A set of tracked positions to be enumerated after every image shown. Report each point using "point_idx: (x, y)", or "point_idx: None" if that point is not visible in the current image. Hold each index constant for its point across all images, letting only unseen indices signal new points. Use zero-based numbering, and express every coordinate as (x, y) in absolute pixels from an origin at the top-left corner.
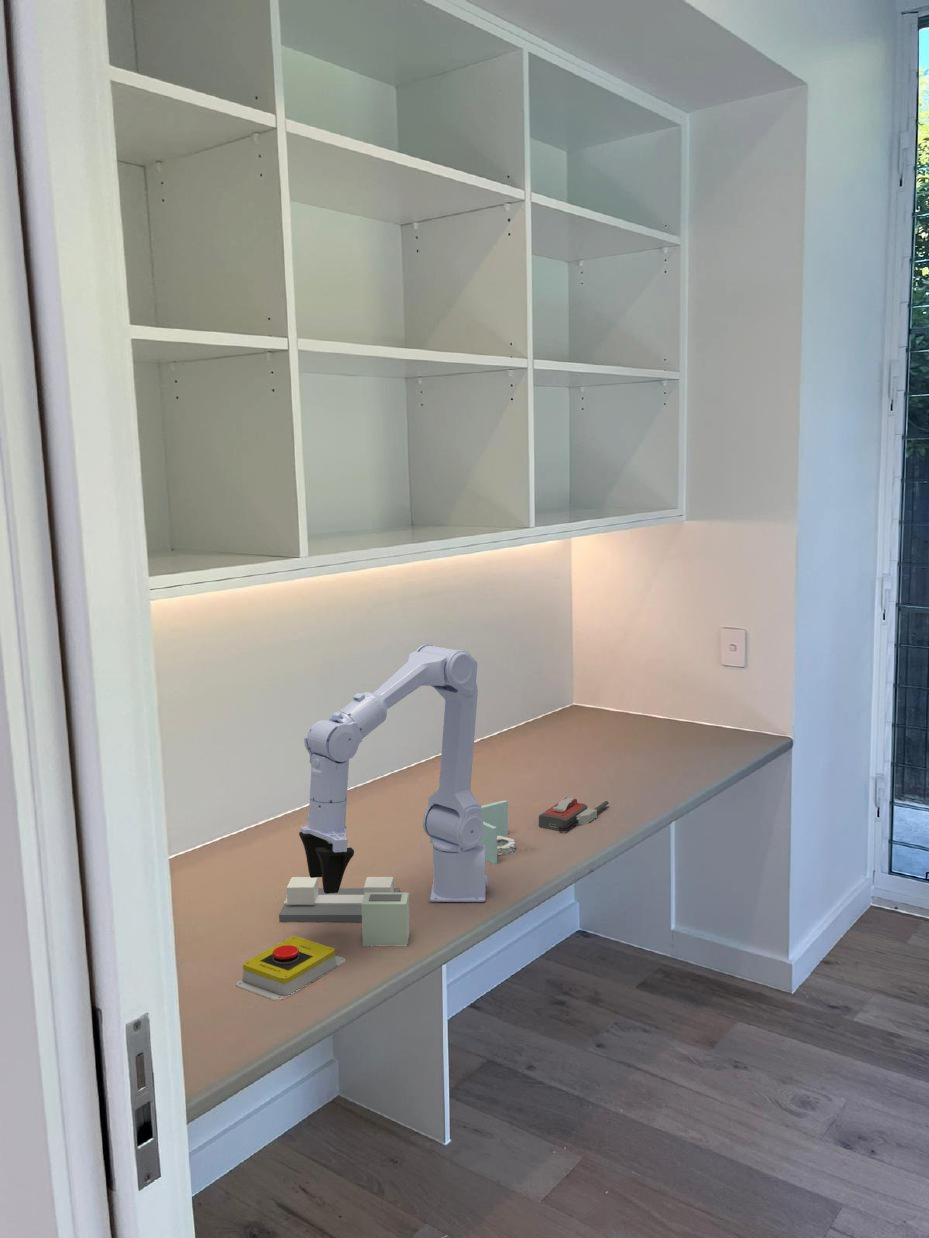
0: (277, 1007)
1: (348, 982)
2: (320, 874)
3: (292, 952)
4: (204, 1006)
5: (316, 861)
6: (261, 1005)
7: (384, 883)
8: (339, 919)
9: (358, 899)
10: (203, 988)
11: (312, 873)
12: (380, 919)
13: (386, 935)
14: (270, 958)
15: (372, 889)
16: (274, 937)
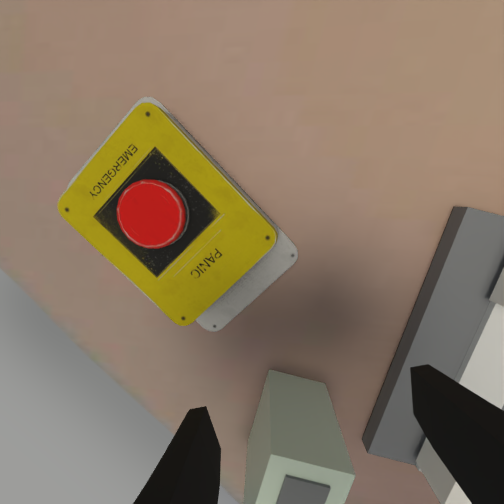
0: (44, 187)
1: (124, 325)
2: (419, 413)
3: (135, 231)
4: (61, 24)
5: (478, 464)
6: (54, 155)
7: None
8: (403, 343)
9: None
10: (143, 16)
11: (422, 388)
12: (258, 452)
13: (256, 428)
14: (164, 175)
15: None
16: (367, 191)
